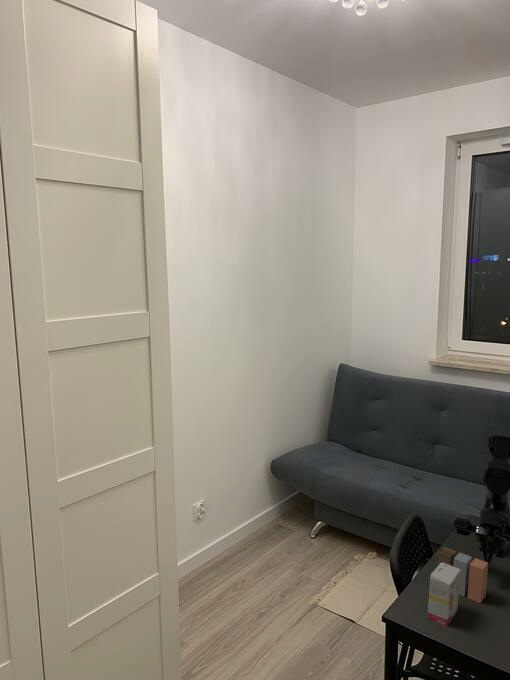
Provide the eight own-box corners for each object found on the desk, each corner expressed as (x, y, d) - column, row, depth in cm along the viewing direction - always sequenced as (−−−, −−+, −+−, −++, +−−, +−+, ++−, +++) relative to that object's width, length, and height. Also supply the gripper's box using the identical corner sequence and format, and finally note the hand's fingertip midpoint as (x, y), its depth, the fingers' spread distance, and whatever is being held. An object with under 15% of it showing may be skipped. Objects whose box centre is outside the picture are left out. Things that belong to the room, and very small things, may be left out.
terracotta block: (472, 590, 133) (475, 558, 132) (485, 595, 131) (488, 562, 130) (467, 597, 130) (469, 564, 129) (480, 603, 128) (483, 569, 127)
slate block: (457, 584, 136) (459, 552, 135) (469, 589, 134) (471, 556, 132) (451, 591, 133) (453, 558, 132) (464, 596, 131) (466, 563, 129)
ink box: (447, 631, 119) (450, 584, 118) (426, 622, 122) (429, 576, 121) (458, 613, 126) (461, 568, 125) (438, 605, 129) (441, 560, 128)
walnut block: (442, 578, 138) (444, 547, 137) (454, 583, 136) (456, 551, 135) (436, 585, 135) (438, 552, 134) (448, 590, 133) (450, 557, 132)
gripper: (457, 489, 141) (445, 544, 134) (533, 506, 132) (526, 566, 124) (460, 505, 149) (450, 559, 141) (533, 523, 139) (526, 581, 131)
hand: (486, 565), depth 134 cm, fingers closed
